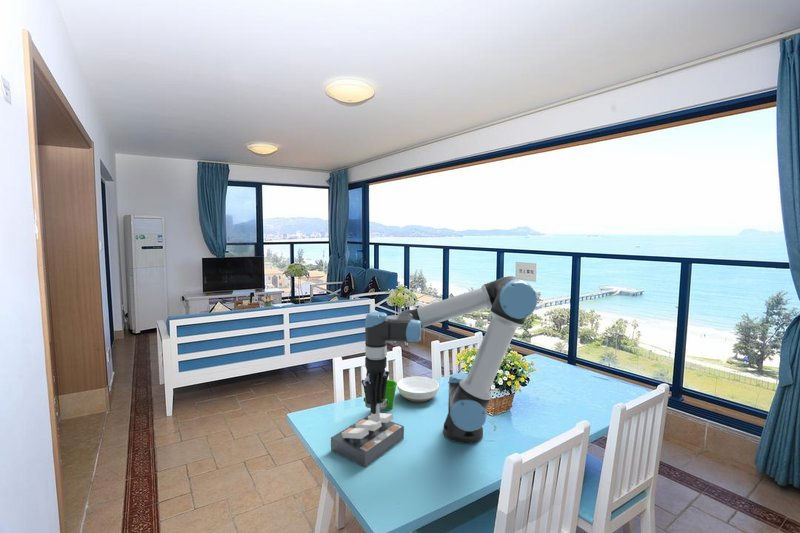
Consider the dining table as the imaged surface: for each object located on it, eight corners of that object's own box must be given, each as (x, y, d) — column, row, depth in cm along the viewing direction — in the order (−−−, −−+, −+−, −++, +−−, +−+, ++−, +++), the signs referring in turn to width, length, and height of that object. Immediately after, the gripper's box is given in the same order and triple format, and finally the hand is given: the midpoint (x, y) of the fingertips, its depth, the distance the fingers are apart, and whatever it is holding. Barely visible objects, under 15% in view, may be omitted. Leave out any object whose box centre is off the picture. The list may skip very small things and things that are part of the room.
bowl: (393, 404, 175) (393, 391, 174) (400, 386, 194) (401, 375, 194) (437, 407, 172) (437, 394, 171) (440, 389, 191) (440, 377, 190)
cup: (373, 410, 169) (372, 385, 168) (381, 401, 177) (381, 378, 176) (392, 414, 166) (392, 389, 165) (400, 405, 174) (400, 381, 173)
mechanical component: (387, 425, 156) (387, 401, 155) (363, 422, 158) (363, 398, 158) (389, 421, 159) (389, 397, 158) (365, 418, 161) (365, 395, 160)
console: (403, 438, 146) (403, 423, 146) (365, 467, 129) (365, 449, 128) (371, 425, 156) (371, 411, 155) (330, 451, 138) (330, 434, 137)
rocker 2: (381, 426, 140) (380, 420, 140) (374, 430, 137) (373, 425, 137) (363, 424, 146) (362, 419, 146) (356, 428, 142) (355, 423, 142)
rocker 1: (368, 433, 135) (367, 428, 135) (361, 438, 131) (359, 432, 132) (350, 433, 140) (349, 427, 140) (342, 437, 137) (341, 432, 137)
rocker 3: (393, 418, 146) (392, 413, 146) (386, 423, 143) (385, 417, 143) (375, 417, 151) (374, 412, 151) (368, 421, 148) (367, 416, 148)
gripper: (379, 349, 144) (378, 411, 147) (355, 359, 134) (355, 424, 136) (395, 353, 140) (394, 416, 142) (372, 363, 129) (371, 431, 132)
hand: (375, 420), depth 139 cm, fingers closed
